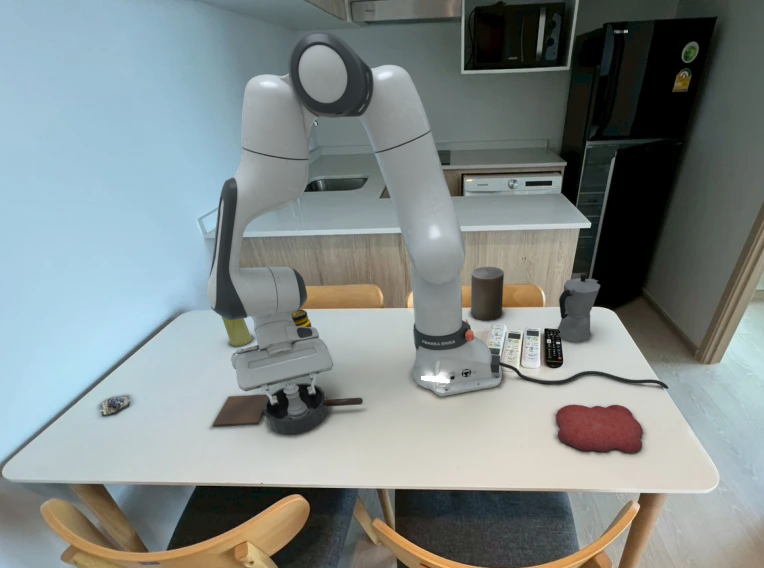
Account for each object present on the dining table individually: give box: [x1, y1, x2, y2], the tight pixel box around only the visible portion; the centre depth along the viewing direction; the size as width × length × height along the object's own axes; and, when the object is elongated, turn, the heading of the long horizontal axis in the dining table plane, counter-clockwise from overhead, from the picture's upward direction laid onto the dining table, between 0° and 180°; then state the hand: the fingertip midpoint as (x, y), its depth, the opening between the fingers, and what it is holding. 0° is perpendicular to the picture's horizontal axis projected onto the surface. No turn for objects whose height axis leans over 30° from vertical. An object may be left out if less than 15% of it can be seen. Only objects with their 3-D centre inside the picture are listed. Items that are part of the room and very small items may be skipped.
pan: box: [263, 382, 329, 436], centre depth 93 cm, size 13×13×4 cm
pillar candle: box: [470, 265, 505, 322], centre depth 126 cm, size 10×10×15 cm
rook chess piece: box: [283, 382, 308, 419], centre depth 91 cm, size 4×4×8 cm
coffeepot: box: [557, 273, 601, 343], centre depth 112 cm, size 15×9×18 cm, turn 129°
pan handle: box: [325, 397, 364, 407], centre depth 92 cm, size 9×2×2 cm, turn 92°
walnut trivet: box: [212, 394, 269, 428], centre depth 96 cm, size 10×10×1 cm
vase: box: [220, 315, 253, 347], centre depth 118 cm, size 6×6×14 cm
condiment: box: [292, 308, 313, 327], centre depth 112 cm, size 7×8×12 cm
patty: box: [555, 404, 643, 454], centre depth 86 cm, size 18×14×2 cm
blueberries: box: [99, 396, 130, 416], centre depth 98 cm, size 7×8×2 cm
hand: (294, 399), depth 91 cm, fingers open, 7 cm apart
